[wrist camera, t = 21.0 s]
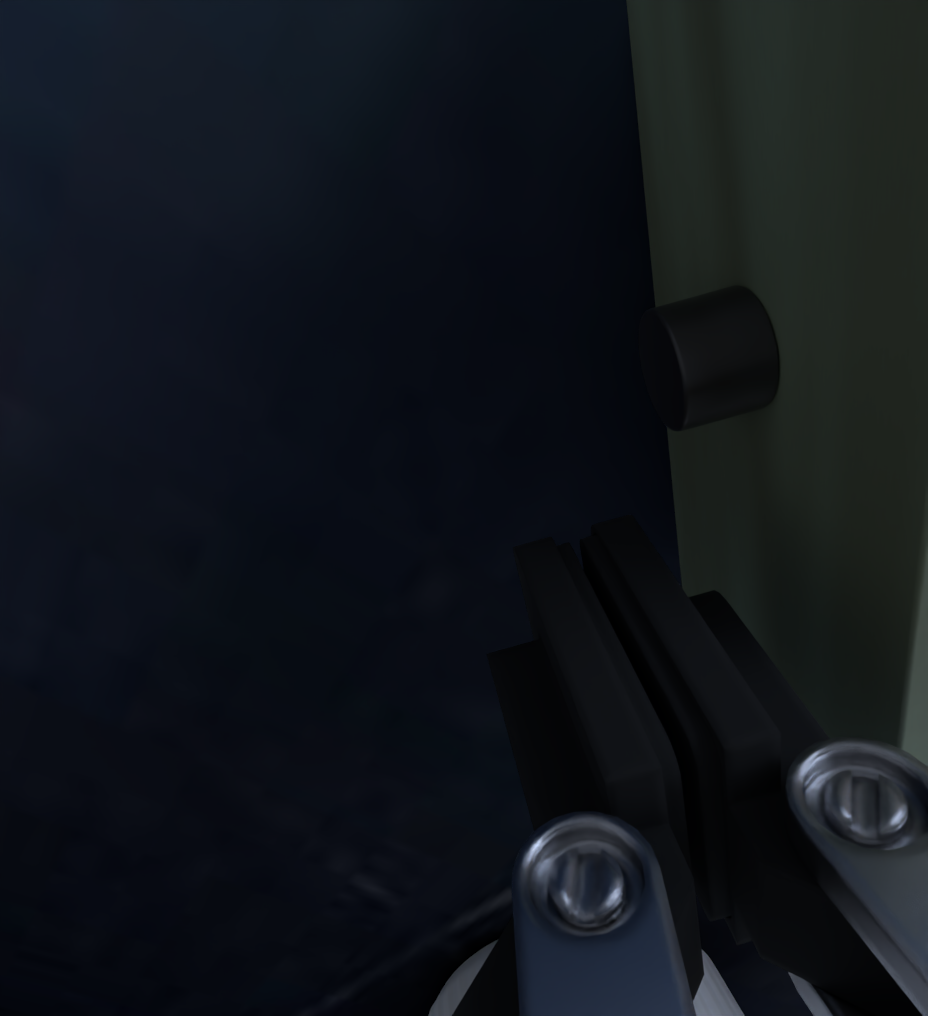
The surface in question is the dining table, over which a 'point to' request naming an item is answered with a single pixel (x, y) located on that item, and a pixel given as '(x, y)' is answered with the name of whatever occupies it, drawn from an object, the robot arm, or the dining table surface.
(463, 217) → the dining table surface
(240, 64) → the dining table surface
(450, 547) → the dining table surface
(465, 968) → the ramekin
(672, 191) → the drawer
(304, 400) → the dining table surface
